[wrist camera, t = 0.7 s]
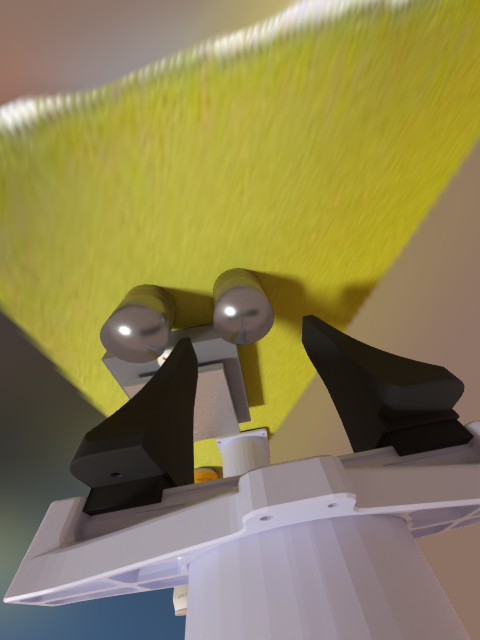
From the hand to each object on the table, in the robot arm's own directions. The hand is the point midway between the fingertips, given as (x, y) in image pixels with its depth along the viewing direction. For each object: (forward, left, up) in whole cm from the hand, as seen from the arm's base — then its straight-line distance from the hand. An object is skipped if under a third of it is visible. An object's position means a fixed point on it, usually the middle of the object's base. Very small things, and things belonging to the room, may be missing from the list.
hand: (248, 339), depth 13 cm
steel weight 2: (0, 0, -7) cm, 7 cm away
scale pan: (-11, +7, -4) cm, 13 cm away
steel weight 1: (0, +8, -7) cm, 11 cm away
